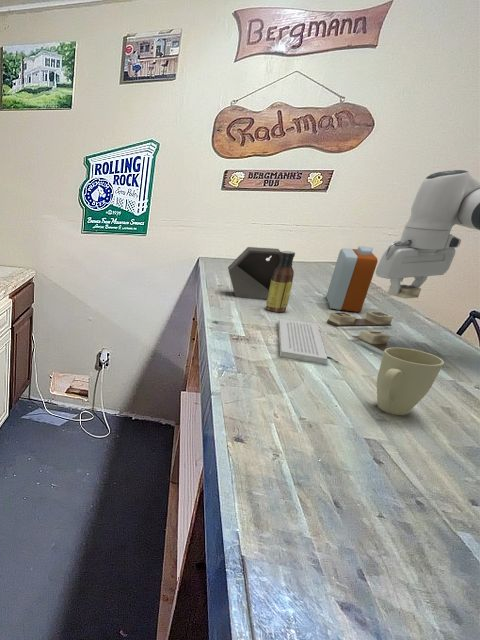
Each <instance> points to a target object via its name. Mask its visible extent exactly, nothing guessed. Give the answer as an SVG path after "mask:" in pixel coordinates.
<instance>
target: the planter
mask: <svg viewBox="0 0 480 640" xmlns="http://www.w3.org/2000/svg"><path fill="white" fill-rule="evenodd" d="M281 252H282V251H281V250H280V249H279V248H272V247H271V248H270V247H257V246H256V247H255V246H247V247H246V248H245V249H244V250H243V251H242V252H241V253H240V254H239V255H238V257H236V258H235V259H234V260H233V261H232V262H231V263H230V264H229V265H228V266H227V270H228V275H229V277H230V281H231V286H232V289H233V293H234V296H235V297H237V298H244V299H253V300H254V299H255V300H267V298H268V294H269V289H270V284H271V279H272V276H273V273H274V271H275V269H276V268H277V266H278V265H279V261H280V254H281ZM267 259H269V260H267Z"/></svg>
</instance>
